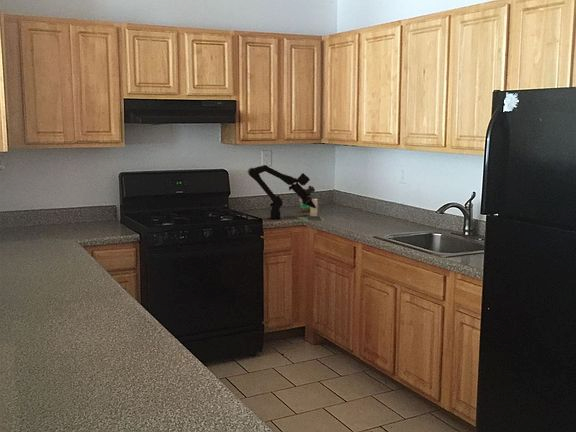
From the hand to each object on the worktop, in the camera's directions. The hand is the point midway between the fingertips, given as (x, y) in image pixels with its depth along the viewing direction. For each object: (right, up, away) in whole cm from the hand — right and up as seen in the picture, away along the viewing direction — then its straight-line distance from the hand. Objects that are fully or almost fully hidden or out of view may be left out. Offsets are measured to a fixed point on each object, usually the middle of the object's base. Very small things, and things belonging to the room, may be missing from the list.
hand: (315, 207), depth 437 cm
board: (-3, -8, -5) cm, 10 cm away
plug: (-1, -6, +1) cm, 7 cm away
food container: (-6, -4, +25) cm, 26 cm away
